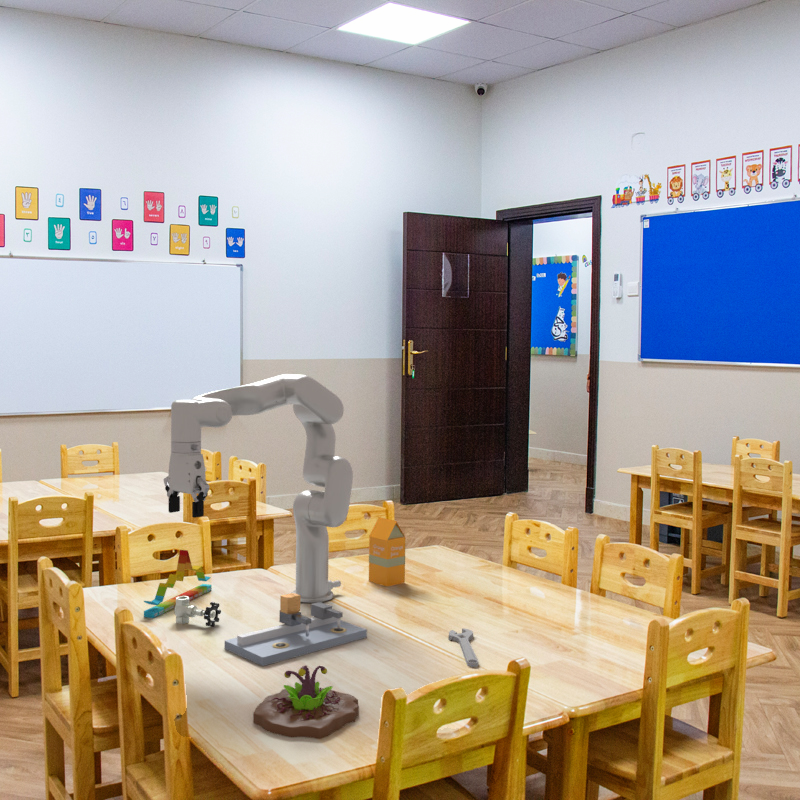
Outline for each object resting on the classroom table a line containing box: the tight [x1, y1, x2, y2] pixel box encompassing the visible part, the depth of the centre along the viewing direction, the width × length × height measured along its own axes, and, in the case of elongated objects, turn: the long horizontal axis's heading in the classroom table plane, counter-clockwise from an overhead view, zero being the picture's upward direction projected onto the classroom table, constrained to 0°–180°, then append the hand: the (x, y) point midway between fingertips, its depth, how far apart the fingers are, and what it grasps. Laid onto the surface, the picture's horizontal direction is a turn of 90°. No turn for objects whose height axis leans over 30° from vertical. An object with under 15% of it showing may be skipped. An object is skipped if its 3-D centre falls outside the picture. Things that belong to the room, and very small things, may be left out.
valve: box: [174, 596, 222, 628], centre depth 240 cm, size 7×7×12 cm
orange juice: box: [368, 516, 406, 588], centre depth 285 cm, size 8×9×20 cm
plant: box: [252, 665, 360, 740], centre depth 180 cm, size 20×20×11 cm
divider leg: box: [278, 592, 311, 636], centre depth 225 cm, size 4×10×9 cm, turn 44°
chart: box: [143, 549, 212, 619], centre depth 258 cm, size 30×3×15 cm, turn 161°
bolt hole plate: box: [224, 602, 368, 667], centre depth 225 cm, size 32×16×7 cm, turn 134°
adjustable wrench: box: [447, 628, 479, 668], centre depth 223 cm, size 25×6×2 cm, turn 179°
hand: (185, 514), depth 233 cm, fingers open, 9 cm apart
